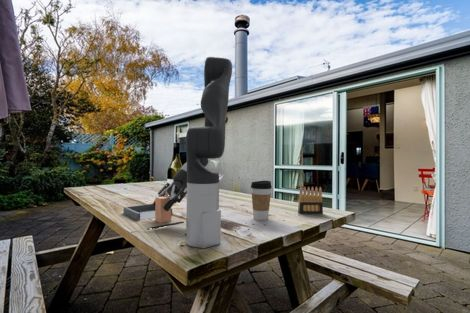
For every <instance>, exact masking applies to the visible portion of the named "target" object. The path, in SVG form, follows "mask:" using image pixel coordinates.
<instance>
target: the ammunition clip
mask: <svg viewBox="0 0 470 313" xmlns="http://www.w3.org/2000/svg"><path fill="white" fill-rule="evenodd" d="M322 191H323V188H322V187H321V186H319V188H318V187H317V186H315V189H314V186H311V189H310V186H307V187H306V186H304V187H302V186H300V187H299V196H298V206H297V208H298V209H297V210H298V211H297V213H298V214H300V215H323V214H324V210H323V209H324V207H323V206H324V203H323V194H322V193H323V192H322ZM305 213H307V214H305Z"/></svg>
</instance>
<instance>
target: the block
mask: <svg viewBox="0 0 470 313" xmlns="http://www.w3.org/2000/svg"><path fill="white" fill-rule="evenodd" d="M154 198H155V200H154V201H155V218H154V220H155V221H156V222H158V223H161V224H162V223H168V222H171V221H172V215H171V208H172V207H171V208H170V209H169V211H165V210H164V209H163V206H164V205H165V204H166V203H167V202H168V201H169V199H170V198H171V197H167V196H166V195H165V196H162V197H159V196H156V197H154ZM170 200H171V199H170Z"/></svg>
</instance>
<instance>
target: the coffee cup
mask: <svg viewBox="0 0 470 313" xmlns="http://www.w3.org/2000/svg"><path fill="white" fill-rule="evenodd" d="M272 187H273V186H272V182H271V180H258V181H251V185H250V189H251V202H252V213H253V214H252V215H253V217H252V218H253V220H256V221H266V220H268V219H269V212H270V202H271V196H272V195H271V191H272V190H271V189H272Z"/></svg>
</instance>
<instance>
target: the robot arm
mask: <svg viewBox="0 0 470 313" xmlns="http://www.w3.org/2000/svg"><path fill="white" fill-rule="evenodd" d="M203 67H204V68H203V78H204V79H203V82H204V86H203V87H204V88H203V92H202V95H201V98H200V107H201V111H202V113H203V114H204V126H190V127H189V128H188V129H187V131H186V135H185V152H186V162H185V163H184V164H183V165H182V166H181V167H180V168H179V169H178V171H177V172H176V173H175V174H174V175H173V176H172V181H173V182H171V183H169V182H167V183H166V184H165V185H163V187H162V188H161V189H160V190H159V191H158V192H157V195H158V197H162V196H167V197H171V198H170V199H171V200H170V199H169V201H168V202H167V203H166V204H165V205H164V206H163V209H164V210H165V211H169V209H170V208H172V207H173V206H174V204H177V203H179V204H180V203H181V201H182V200H184V198H185V197H186V219H185V220H186V224H185V226H186V227H185V230H186V231H185V232H186V233H185V235H186V238H185V242H186V243H185V244H186V245H187V246H190V247H194V248H200V249H206V248H209V247H214V246H217V245H219V244H221V243H222V242H221V240H222V238H221V230H222V227H221V226H222V211H221V209H219V208H220V174H219V172H218V171H215V170H213V169H209V168H208V167H207V166H208V164H209V160H210V159H212V160H215V159H220V158H221V157H223V155H224V152H225V148H226V147H225V146H226V144H225V143H226V121H227V120H226V118H227V113H228V106H229V98H230V97H229V96H230V94H229V93H230V84H231V79H232V75H233V63H232V61H231V60H230V59H229V58H227V57H220V56H219V57H218V56H208V57H206V59H205V60H204V66H203ZM152 204H153V205H154V206H155V200H154V201H153V202H152Z"/></svg>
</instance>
